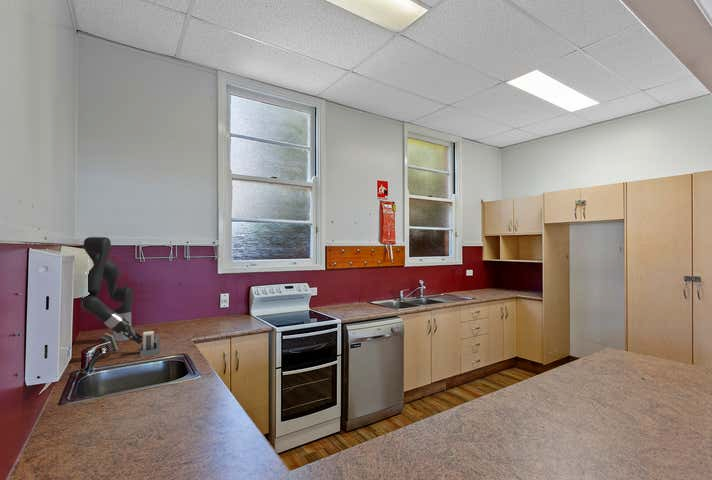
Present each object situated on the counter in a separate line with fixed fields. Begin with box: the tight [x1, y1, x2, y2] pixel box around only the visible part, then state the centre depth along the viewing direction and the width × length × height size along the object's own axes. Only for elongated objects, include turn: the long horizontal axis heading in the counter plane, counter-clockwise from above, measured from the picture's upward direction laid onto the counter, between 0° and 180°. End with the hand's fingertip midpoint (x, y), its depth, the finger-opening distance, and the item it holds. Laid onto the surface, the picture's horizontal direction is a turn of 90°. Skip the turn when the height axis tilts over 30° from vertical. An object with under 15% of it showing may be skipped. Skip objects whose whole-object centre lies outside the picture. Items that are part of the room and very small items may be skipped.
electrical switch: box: [99, 333, 119, 352], centre depth 197 cm, size 9×5×9 cm, turn 57°
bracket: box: [139, 332, 161, 358], centre depth 196 cm, size 14×9×8 cm, turn 31°
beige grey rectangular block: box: [142, 330, 155, 350], centre depth 195 cm, size 5×5×11 cm
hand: (141, 340), depth 193 cm, fingers open, 8 cm apart
